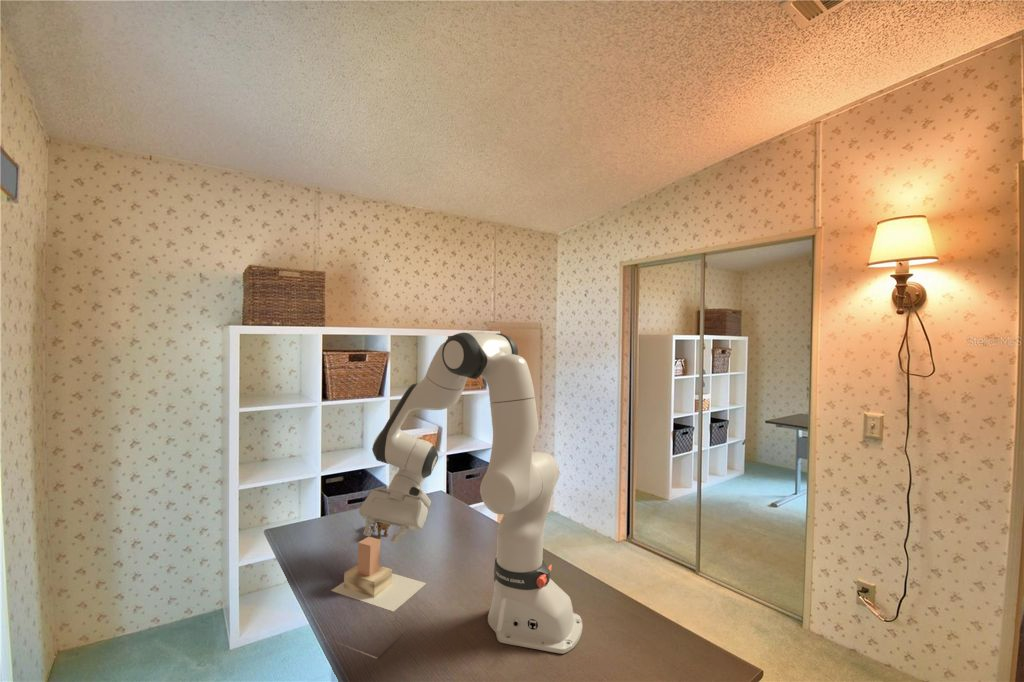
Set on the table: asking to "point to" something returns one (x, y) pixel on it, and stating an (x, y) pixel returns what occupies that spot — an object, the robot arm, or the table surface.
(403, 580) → the mat
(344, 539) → the table surface
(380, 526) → the lion figurine
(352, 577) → the plinth
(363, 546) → the pillar
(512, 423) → the robot arm
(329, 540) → the table surface
